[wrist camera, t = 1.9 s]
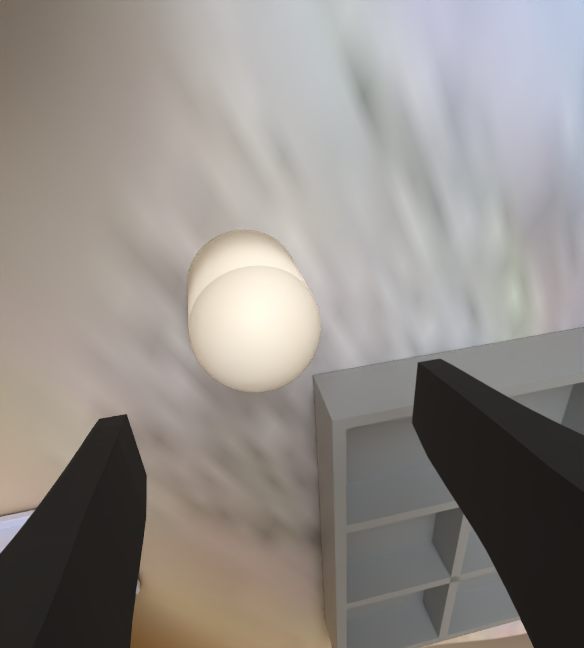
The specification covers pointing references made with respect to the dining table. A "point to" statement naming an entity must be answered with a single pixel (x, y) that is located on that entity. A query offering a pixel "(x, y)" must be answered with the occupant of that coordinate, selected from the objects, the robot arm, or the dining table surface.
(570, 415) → the grey compartment tray
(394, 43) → the dining table surface
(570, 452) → the robot arm
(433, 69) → the dining table surface
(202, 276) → the egg
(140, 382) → the dining table surface
